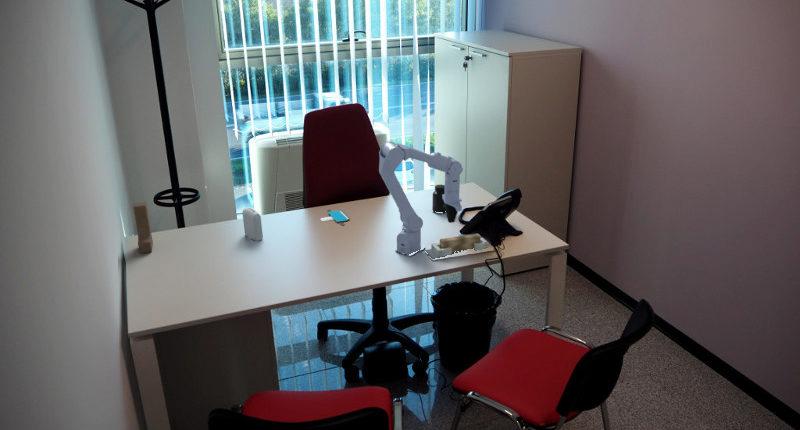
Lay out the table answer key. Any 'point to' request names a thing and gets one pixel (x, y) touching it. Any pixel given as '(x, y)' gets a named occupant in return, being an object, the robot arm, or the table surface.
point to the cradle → (437, 252)
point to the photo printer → (252, 224)
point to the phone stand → (336, 217)
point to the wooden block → (143, 228)
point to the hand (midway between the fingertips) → (451, 221)
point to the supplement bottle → (438, 199)
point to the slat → (460, 242)
